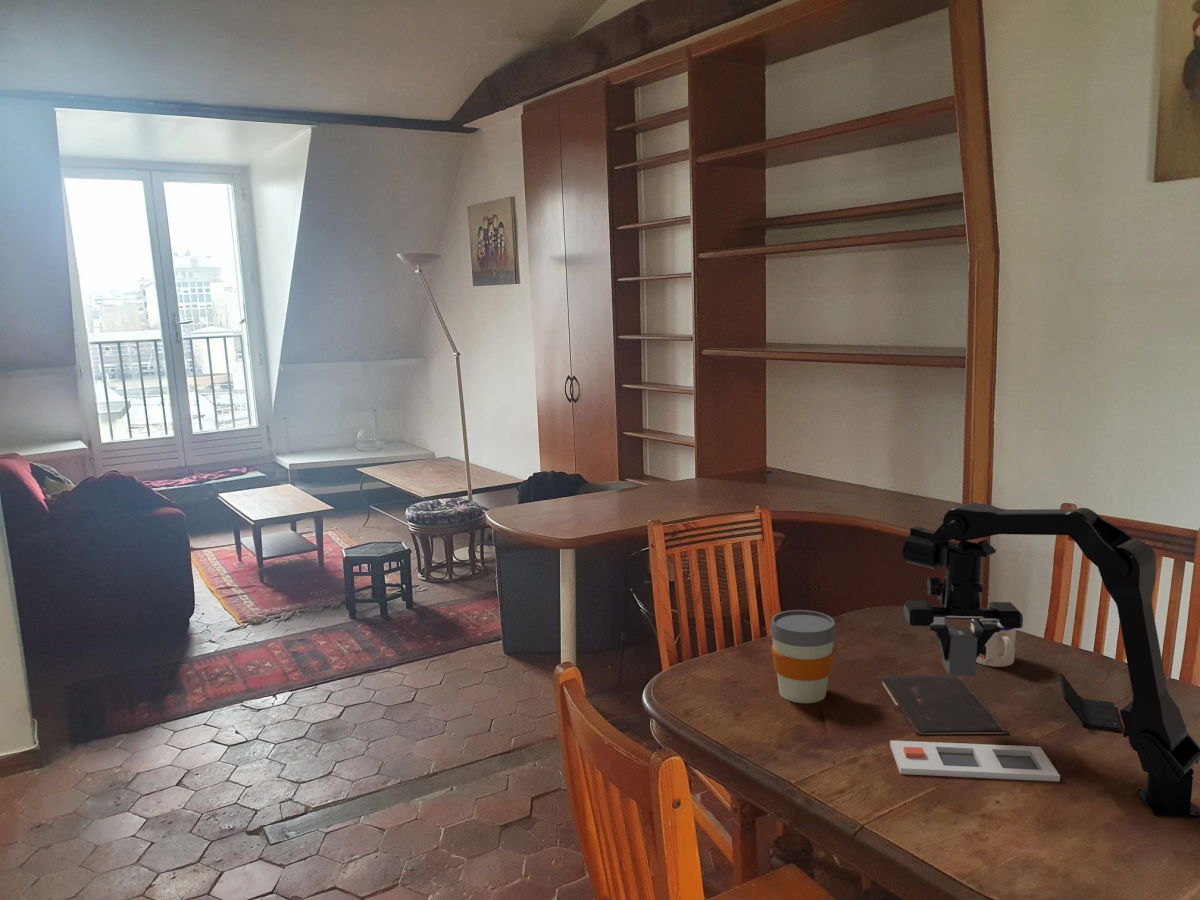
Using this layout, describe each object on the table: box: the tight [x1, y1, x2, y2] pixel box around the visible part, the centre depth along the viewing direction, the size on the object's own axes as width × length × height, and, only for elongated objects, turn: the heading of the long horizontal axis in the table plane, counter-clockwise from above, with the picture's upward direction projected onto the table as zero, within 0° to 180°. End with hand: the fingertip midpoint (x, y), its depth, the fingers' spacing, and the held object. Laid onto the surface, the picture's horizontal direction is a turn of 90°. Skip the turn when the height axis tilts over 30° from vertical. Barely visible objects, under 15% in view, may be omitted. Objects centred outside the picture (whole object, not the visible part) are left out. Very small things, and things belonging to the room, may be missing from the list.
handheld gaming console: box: [1059, 673, 1122, 733], centre depth 158 cm, size 12×7×10 cm
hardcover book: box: [880, 674, 1010, 735], centre depth 162 cm, size 16×23×2 cm
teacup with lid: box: [969, 619, 1017, 668], centre depth 181 cm, size 12×9×12 cm
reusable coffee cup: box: [769, 609, 837, 704], centre depth 170 cm, size 13×13×15 cm
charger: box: [942, 627, 977, 677], centre depth 153 cm, size 4×4×7 cm
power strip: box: [832, 740, 1061, 783], centre depth 142 cm, size 9×34×3 cm, turn 81°
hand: (959, 659), depth 153 cm, fingers closed on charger, 4 cm apart
